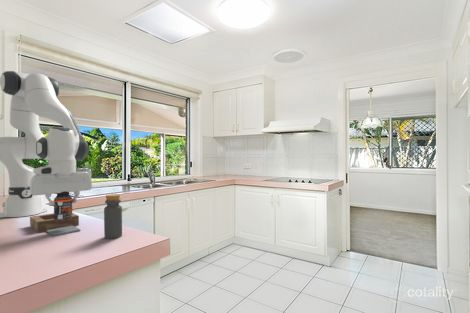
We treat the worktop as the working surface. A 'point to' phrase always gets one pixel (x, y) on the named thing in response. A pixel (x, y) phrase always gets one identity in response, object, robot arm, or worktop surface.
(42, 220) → the frame
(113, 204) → the bottle
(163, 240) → the worktop surface
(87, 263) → the worktop surface
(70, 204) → the supplement bottle
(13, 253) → the worktop surface
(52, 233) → the grey mat
